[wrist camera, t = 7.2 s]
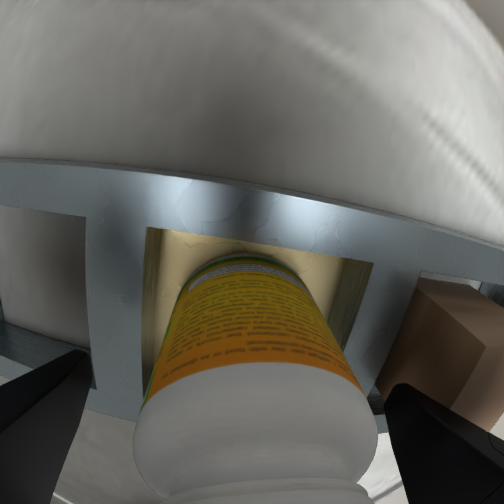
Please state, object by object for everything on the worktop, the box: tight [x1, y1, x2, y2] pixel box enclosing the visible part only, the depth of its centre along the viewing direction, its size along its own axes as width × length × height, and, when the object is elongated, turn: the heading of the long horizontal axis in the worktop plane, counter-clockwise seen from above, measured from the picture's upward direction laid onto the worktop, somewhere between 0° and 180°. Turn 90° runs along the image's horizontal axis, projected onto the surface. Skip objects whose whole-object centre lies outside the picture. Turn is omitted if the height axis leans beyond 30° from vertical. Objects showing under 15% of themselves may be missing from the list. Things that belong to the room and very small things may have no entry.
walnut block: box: [374, 277, 504, 432], centre depth 10 cm, size 5×5×6 cm
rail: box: [0, 158, 504, 434], centre depth 11 cm, size 10×28×2 cm, turn 79°
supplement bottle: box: [133, 253, 378, 504], centre depth 7 cm, size 5×5×10 cm
